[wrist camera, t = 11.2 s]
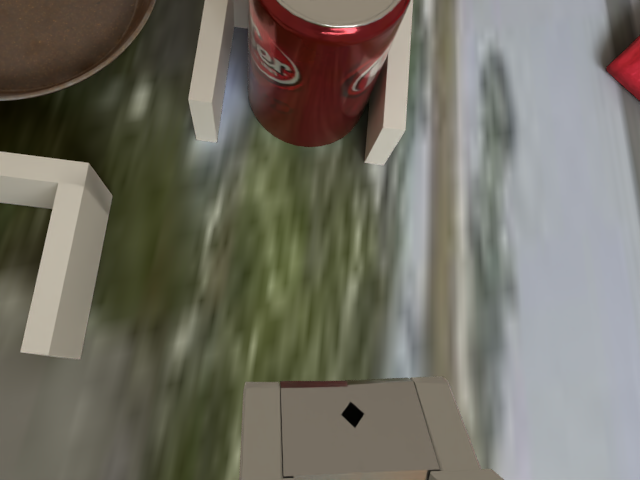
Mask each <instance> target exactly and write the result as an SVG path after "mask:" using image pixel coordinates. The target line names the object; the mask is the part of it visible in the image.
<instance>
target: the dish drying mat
mask: <svg viewBox="0 0 640 480" xmlns="http://www.w3.org/2000/svg"><path fill="white" fill-rule="evenodd" d="M606 70H607V72H608V73H609V74H611V75H612V76H613V77H614V78H615V79H616V80H617V81H618V82H619V83H620V84H621V85H623V86H624V87H625V88H626V89H627V90H628V91H629V92H630V93H631V94H633V95H634V96H635V97H636V98H637V99H638V100H639V101H640V35H639V36H638V37H637V38H636V39H635V40H634V41H633V42H632V43H631V44H630V45H629V46H628V47H627V48H626V49H625V50H624V51H623V52H622V53H621V54H620V55H619V56H618V57H617V58H616V59H614V60H613V61H612V62H611V63H610V64H609V65H608V66H607V68H606Z"/></svg>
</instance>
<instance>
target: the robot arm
mask: <svg viewBox="0 0 640 480" xmlns="http://www.w3.org/2000/svg"><path fill="white" fill-rule="evenodd" d="M239 480H504V479H503V478H501V477H500V476H499V475H498V474H497V473H496V472H494V471H493V470H492V469H481V467H480V465H479V462H478V459H477V457H476V454H475V452H474V449H473V446H472V444H471V441H470V438H469V436H468V433H467V430H466V428H465V425H464V422H463V420H462V417H461V414H460V412H459V409H458V406H457V404H456V401H455V398H454V396H453V393H452V391H451V388H450V385H449V383H448V381H447V380H446V379H445V378H444V377H443V376H442V377H416V378H410V379H409V378H390V379H365V380H345V381H280V385H279V382H245V386H244V391H243V412H242V434H241V456H240V477H239Z"/></svg>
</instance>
